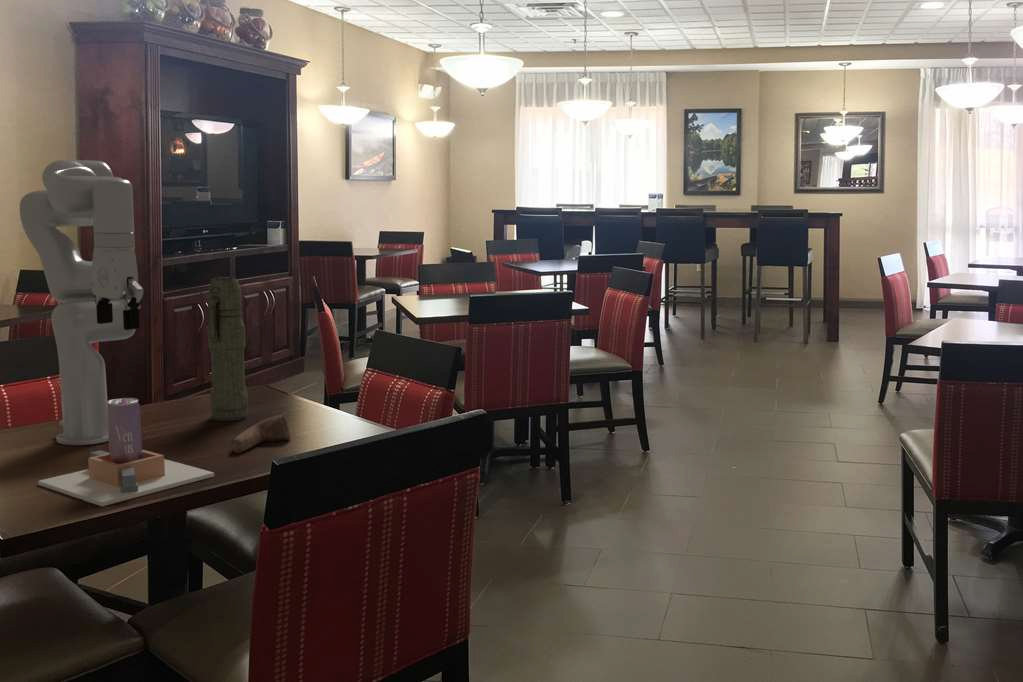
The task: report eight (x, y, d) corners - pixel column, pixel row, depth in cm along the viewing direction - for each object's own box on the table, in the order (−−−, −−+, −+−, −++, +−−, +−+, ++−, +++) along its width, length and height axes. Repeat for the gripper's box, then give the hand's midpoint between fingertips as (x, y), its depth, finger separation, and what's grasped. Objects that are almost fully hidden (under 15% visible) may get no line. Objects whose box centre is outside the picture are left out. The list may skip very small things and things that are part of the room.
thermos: (201, 421, 245) (195, 279, 239) (225, 411, 256) (219, 275, 251) (234, 423, 243) (228, 279, 238) (257, 412, 254) (252, 275, 249)
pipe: (222, 432, 214) (266, 426, 213) (252, 415, 231) (293, 409, 229) (228, 461, 215) (272, 455, 214) (257, 441, 231) (298, 436, 230)
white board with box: (38, 484, 191) (36, 460, 191) (149, 458, 210) (148, 436, 210) (101, 506, 178) (100, 480, 178) (214, 476, 197) (213, 452, 197)
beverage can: (142, 470, 198) (138, 396, 196) (143, 478, 193) (139, 402, 191) (110, 473, 196) (106, 399, 194) (110, 481, 191) (106, 405, 188)
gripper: (73, 239, 201) (78, 322, 204) (121, 245, 191) (124, 333, 194) (108, 237, 207) (112, 318, 210) (156, 243, 196) (159, 329, 200)
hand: (118, 326), depth 202 cm, fingers open, 9 cm apart
